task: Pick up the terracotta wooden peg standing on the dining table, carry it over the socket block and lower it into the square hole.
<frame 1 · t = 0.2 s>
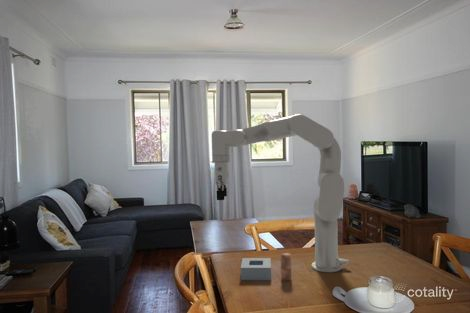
hand: (221, 198, 167), 31 cm above the table, tool pointing down, fingers open, 9 cm apart
socket block: (256, 274, 159), on the table
peg: (286, 279, 153), on the table
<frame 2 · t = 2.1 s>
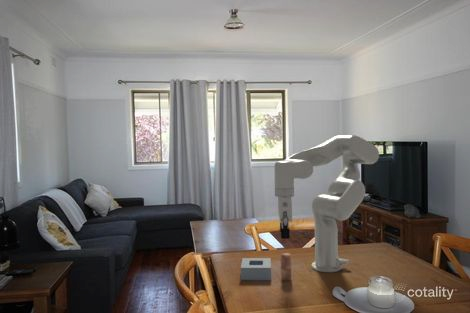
hand: (284, 235, 152), 18 cm above the table, tool pointing down, fingers open, 9 cm apart
nothing on the table moved.
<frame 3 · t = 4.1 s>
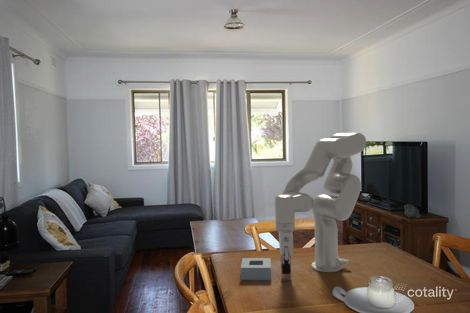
hand: (286, 271, 153), 3 cm above the table, tool pointing down, fingers closed on peg, 4 cm apart
peg: (286, 279, 153), on the table, touching gripper
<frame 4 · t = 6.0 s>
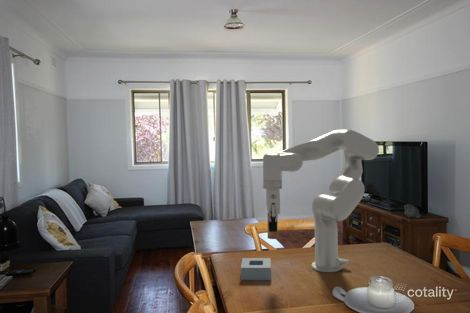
hand: (272, 229, 154), 20 cm above the table, tool pointing down, fingers closed on peg, 4 cm apart
peg: (272, 237, 154), point 16 cm above the table, touching gripper
when the fingers open (6 cm above the table, at t = 8.4 s): peg drops 3 cm, resting in socket block.
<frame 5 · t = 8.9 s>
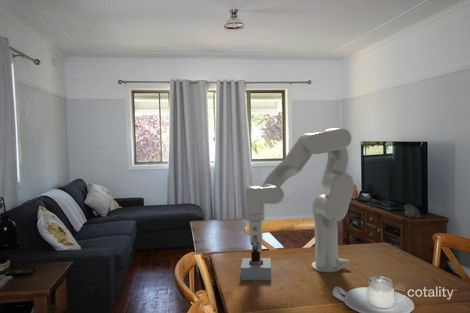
hand: (256, 257, 158), 7 cm above the table, tool pointing down, fingers open, 9 cm apart
peg: (256, 274, 159), resting in socket block
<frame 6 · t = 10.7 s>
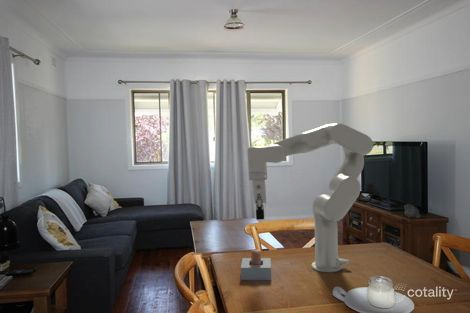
hand: (260, 216, 160), 24 cm above the table, tool pointing down, fingers open, 9 cm apart
nothing on the table moved.
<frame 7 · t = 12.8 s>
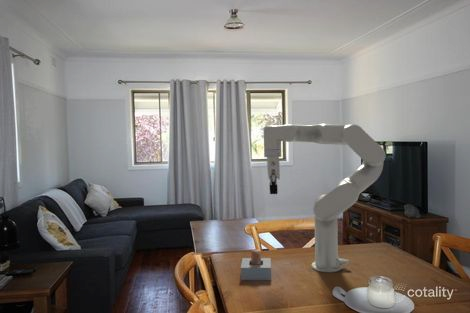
hand: (273, 192, 169), 32 cm above the table, tool pointing down, fingers open, 9 cm apart
nothing on the table moved.
at the end: peg 0.0 cm off-centre on the socket block, point 0.0 cm above the socket block's base; peg tilted 0°; the gripper is holding nothing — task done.
